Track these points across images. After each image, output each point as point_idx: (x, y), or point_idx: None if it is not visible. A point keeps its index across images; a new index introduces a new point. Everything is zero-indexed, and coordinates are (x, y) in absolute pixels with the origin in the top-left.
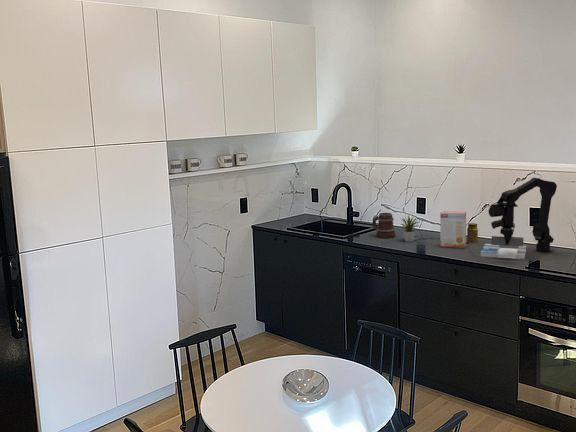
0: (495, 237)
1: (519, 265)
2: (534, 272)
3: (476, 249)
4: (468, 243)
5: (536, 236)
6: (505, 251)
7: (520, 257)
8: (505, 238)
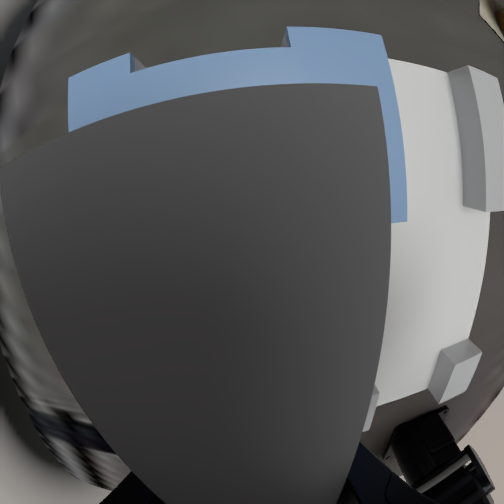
0: (89, 330)
1: (72, 394)
2: (37, 424)
3: (422, 21)
4: (497, 12)
5: (440, 494)
6: (396, 278)
7: None
8: (116, 500)
